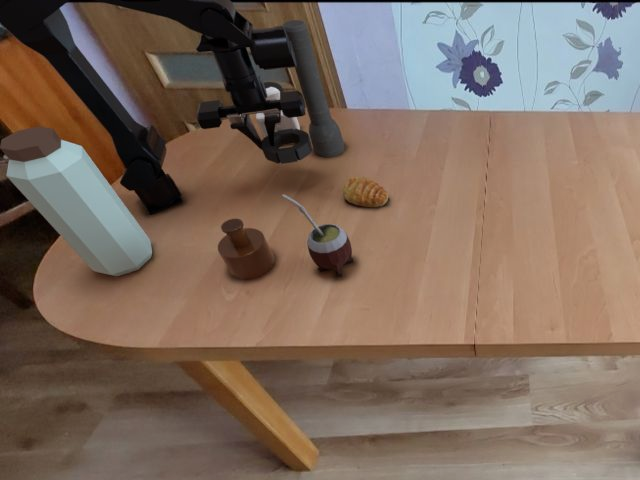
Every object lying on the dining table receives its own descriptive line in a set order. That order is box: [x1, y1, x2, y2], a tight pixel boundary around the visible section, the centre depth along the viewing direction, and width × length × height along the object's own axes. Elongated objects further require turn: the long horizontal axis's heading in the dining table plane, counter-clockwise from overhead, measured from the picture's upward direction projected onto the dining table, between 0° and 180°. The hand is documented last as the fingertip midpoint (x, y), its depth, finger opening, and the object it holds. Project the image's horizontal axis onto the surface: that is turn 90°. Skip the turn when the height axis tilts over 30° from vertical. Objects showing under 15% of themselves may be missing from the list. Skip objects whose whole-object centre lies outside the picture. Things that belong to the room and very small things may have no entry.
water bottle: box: [0, 125, 153, 277], centre depth 76 cm, size 10×10×25 cm
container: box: [255, 81, 301, 146], centre depth 110 cm, size 8×8×13 cm
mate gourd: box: [281, 193, 354, 278], centre depth 80 cm, size 8×8×15 cm
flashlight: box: [282, 19, 346, 158], centre depth 101 cm, size 7×28×7 cm
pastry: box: [341, 176, 389, 208], centre depth 98 cm, size 9×7×4 cm
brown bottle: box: [217, 218, 276, 280], centre depth 82 cm, size 8×8×10 cm
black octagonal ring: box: [261, 128, 313, 165], centre depth 97 cm, size 9×9×2 cm
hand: (268, 148), depth 96 cm, fingers closed on black octagonal ring, 2 cm apart
